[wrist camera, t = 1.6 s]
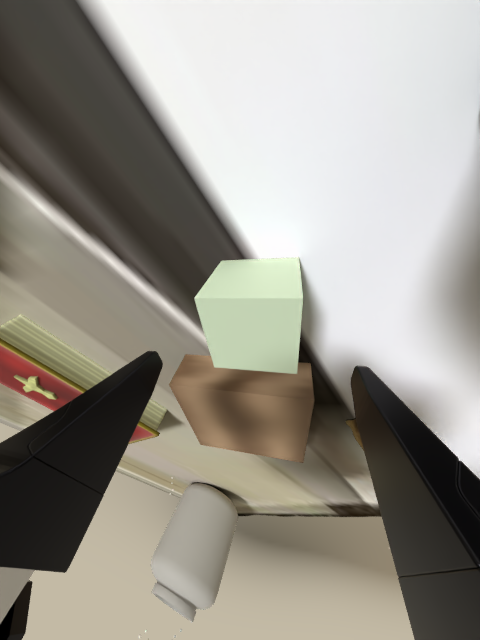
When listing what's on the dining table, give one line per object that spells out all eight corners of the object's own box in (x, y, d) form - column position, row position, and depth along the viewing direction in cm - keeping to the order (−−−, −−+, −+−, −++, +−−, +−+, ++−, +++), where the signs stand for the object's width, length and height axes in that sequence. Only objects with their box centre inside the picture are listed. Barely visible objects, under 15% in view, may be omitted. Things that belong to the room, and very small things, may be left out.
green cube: (299, 256, 12) (303, 298, 8) (295, 321, 15) (297, 374, 11) (221, 260, 13) (194, 298, 10) (232, 319, 16) (214, 367, 13)
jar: (163, 475, 53) (89, 655, 33) (194, 470, 45) (121, 705, 25) (216, 500, 59) (180, 666, 39) (252, 500, 51) (229, 709, 31)
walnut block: (310, 359, 18) (314, 400, 15) (301, 425, 25) (303, 462, 22) (187, 351, 21) (168, 384, 17) (210, 413, 28) (200, 444, 24)
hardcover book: (134, 422, 35) (119, 448, 32) (9, 348, 28) (-29, 372, 25) (172, 407, 29) (157, 438, 26) (22, 307, 22) (-26, 332, 18)
